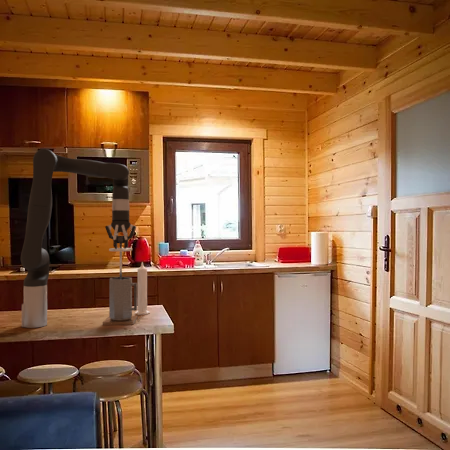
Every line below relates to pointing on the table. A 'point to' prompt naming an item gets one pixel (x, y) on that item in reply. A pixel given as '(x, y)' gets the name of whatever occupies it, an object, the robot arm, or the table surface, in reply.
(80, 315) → the table surface
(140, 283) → the candle
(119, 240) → the plunger
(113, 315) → the press
